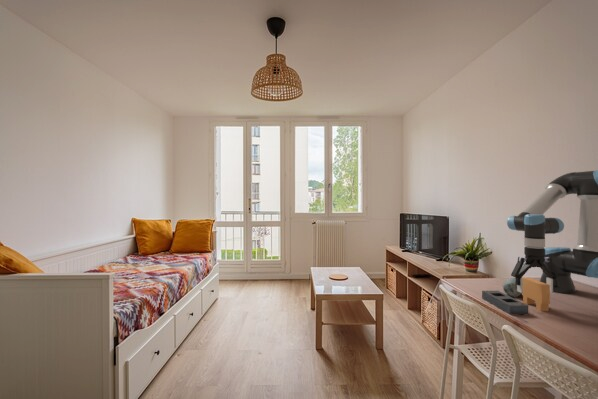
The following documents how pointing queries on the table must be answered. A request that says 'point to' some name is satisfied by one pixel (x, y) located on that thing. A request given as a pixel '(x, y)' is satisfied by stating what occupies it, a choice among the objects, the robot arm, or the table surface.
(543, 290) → the wooden arch block
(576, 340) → the table surface
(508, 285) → the spool
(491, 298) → the cinder block
